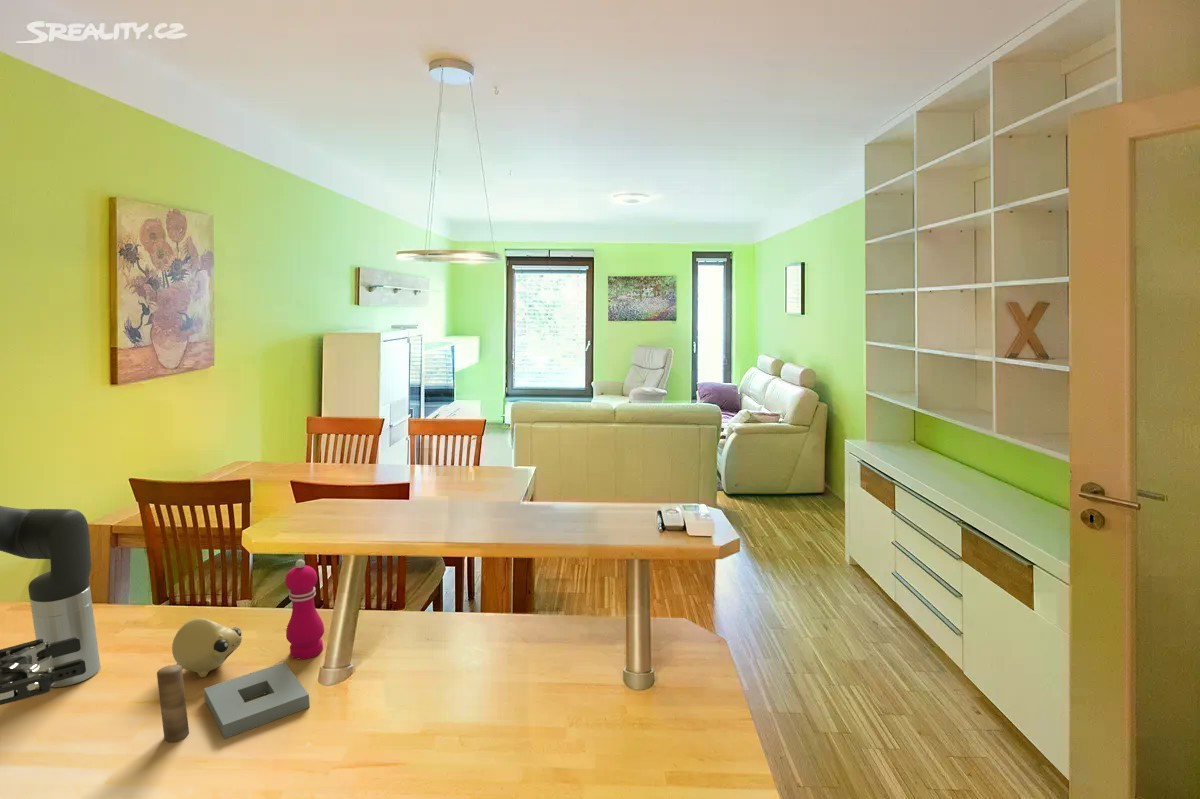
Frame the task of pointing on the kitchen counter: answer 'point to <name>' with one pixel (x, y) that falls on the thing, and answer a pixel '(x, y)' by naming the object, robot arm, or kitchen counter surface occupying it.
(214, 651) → the beige animal figure
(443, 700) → the kitchen counter surface
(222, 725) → the socket
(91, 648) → the robot arm
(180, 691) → the pin
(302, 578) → the pepper mill
